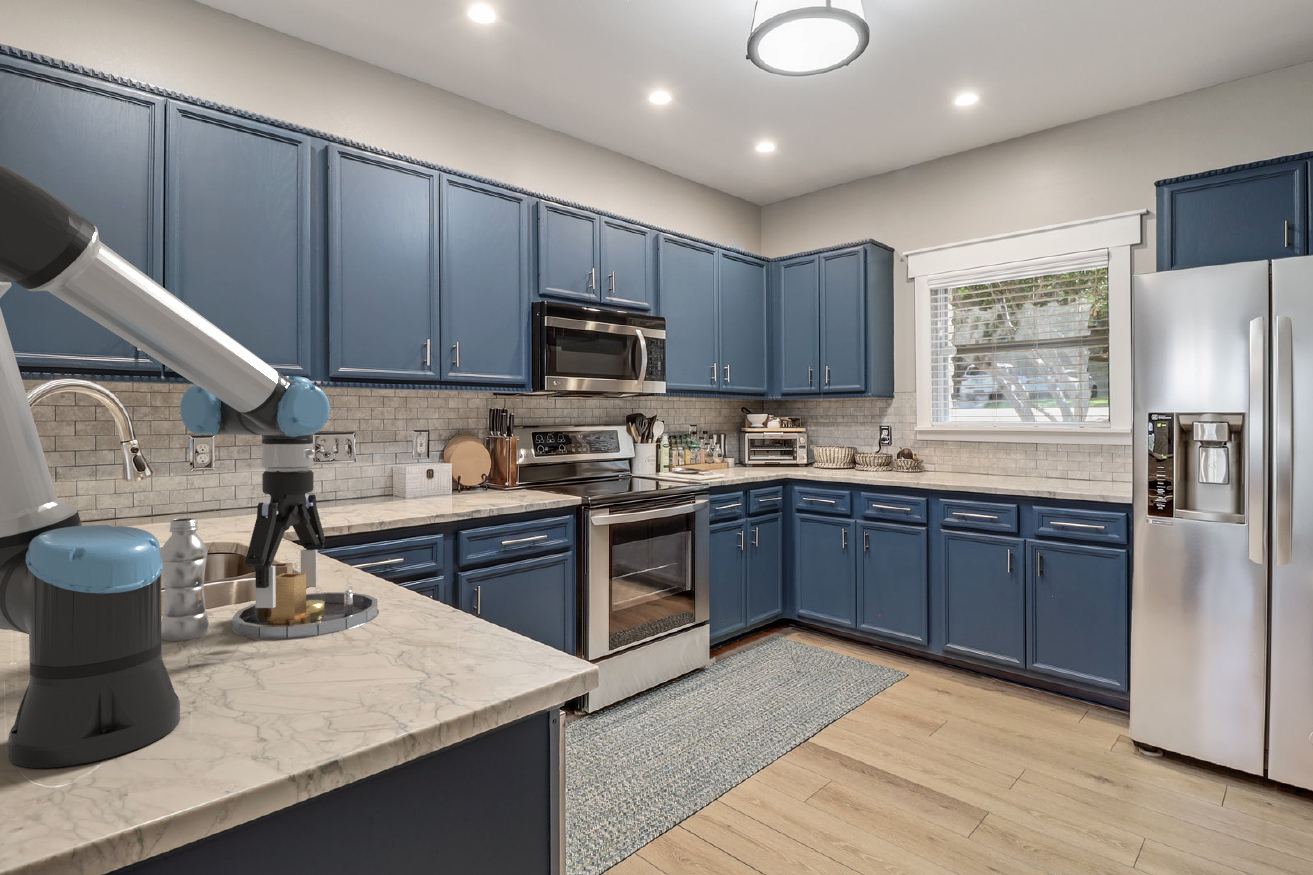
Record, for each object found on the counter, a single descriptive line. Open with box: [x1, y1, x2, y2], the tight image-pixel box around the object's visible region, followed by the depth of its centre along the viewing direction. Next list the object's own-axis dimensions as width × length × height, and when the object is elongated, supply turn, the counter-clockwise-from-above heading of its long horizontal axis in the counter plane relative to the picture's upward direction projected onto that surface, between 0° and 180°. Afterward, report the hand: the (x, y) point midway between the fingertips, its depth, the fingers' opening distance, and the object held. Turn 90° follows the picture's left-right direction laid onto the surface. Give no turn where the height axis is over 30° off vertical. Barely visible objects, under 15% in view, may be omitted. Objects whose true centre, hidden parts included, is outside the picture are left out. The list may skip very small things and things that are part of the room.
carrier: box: [231, 589, 380, 640], centre depth 121 cm, size 23×23×6 cm
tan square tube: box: [258, 562, 294, 620], centre depth 123 cm, size 6×6×9 cm
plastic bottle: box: [160, 517, 210, 642], centre depth 111 cm, size 6×7×20 cm
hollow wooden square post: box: [267, 572, 311, 625], centre depth 114 cm, size 6×6×9 cm
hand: (288, 596), depth 114 cm, fingers open, 13 cm apart
